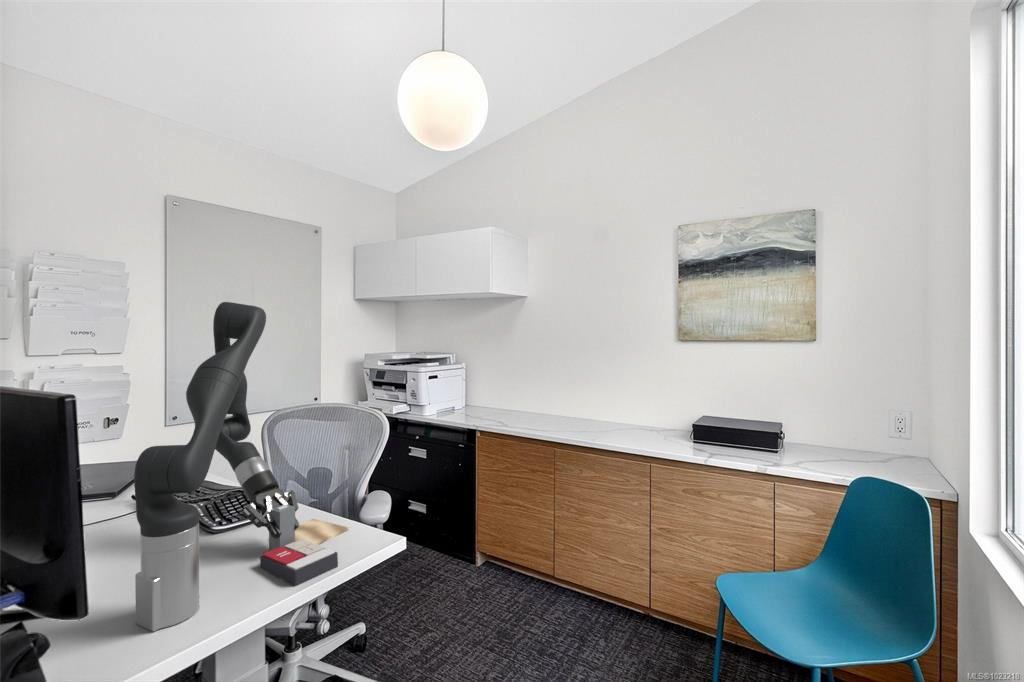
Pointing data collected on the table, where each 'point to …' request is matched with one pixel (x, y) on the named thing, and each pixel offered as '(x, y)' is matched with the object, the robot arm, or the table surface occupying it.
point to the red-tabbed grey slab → (299, 561)
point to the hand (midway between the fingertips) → (287, 532)
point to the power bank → (283, 526)
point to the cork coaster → (318, 531)
